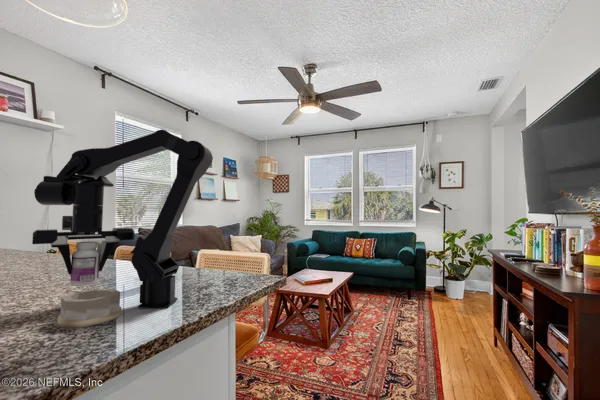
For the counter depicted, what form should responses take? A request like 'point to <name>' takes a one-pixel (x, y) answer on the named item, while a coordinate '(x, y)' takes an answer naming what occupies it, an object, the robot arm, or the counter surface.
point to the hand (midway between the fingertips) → (85, 272)
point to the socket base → (89, 308)
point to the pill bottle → (85, 264)
